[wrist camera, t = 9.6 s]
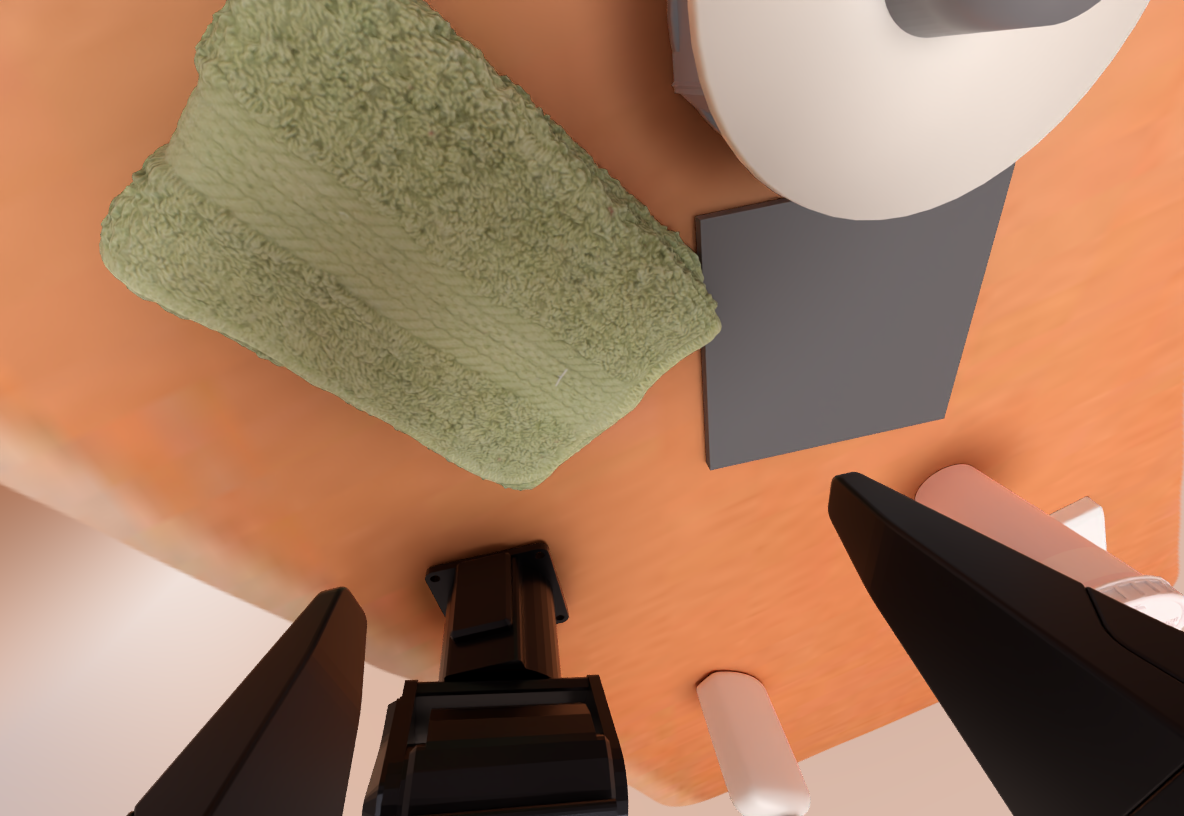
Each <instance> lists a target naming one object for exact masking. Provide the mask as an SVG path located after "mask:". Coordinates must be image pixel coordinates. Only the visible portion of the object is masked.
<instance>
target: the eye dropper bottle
mask: <svg viewBox="0 0 1184 816" xmlns="http://www.w3.org/2000/svg"><path fill="white" fill-rule="evenodd" d="M697 695H698V698H699V701H700V704H701V708H702V711H703V714H704V717H705V720H706V724H707V727H708V730H709V733H710V736H711V739H712V743H713V746H714V749H715V752H716V755H717V758H718V761H719V765H720V768H721V771H722V774H723V777H724V780H725V783H726V786H727V789H728V792H729V795H730V798H731V800H732V803H733V805H734V806H735V808H736V809H737V810H738V811H739V812H740V813H741V814H742V815H743V816H804V815H805V814H806V813H807V811H808V810H809V807H810V803H811V799H810V794H809V791H808V788H807V786H806V784H805V781H804V779H803V776H802V774H801V771H800V768H799V766H798V764H797V761H796V759H795V757H794V754H793V752H792V750H791V747H790V745H789V743H788V740H787V738H786V735H785V733H784V731H783V728H782V726H781V724H780V721H779V719H778V717H777V714H776V712H775V710H774V707H773V705H772V703H771V700H770V698H769V696H768V693H767V691H766V689H765V687H764V686H763V685H762V683H761V682H760V681H758V680H757V679H755V678H754V677H752V676H750V675H747V674H744V673H739V672H715V673H713V674H711V675H710V676H708V677H707V678H706V679H705V680H704V681H702V682H701V683H700V684H699V685H698V687H697Z"/></svg>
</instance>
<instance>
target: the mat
mask: <svg viewBox="0 0 1184 816" xmlns="http://www.w3.org/2000/svg"><path fill="white" fill-rule="evenodd" d="M1015 163H1016V162H1015ZM1015 163H1013V164H1012V165H1011V166H1009V167H1008V168H1007V169H1005V170H1004V171H1002V172H1001V173H999V174H998V175H996V176H995V177H993V178H992V179H990V180H989V181H987V182H986V183H984V184H983V185H981V186H979V187H977V188H975V189H973V190H972V191H970V192H968V193H966V194H964V195H962V196H961V197H959V198H957V199H954V200H952V201H949V202H947V203H945V204H942V205H940V206H937V207H935V208H933V209H930V210H926V211H923V212H919V213H916V214H912V215H909V216H904V217H898V218H891V219H885V220H851V219H844V218H838V217H832V216H829V215H826V214H822V213H819V212H816V211H813V210H810V209H808V208H805V207H803V206H801V205H798V204H796V203H794V202H792V201H790V200H788V199H786V198H782V199H777V200H772V201H767V202H763V203H758V204H753V205H748V206H743V207H738V208H733V209H728V210H724V211H719V212H714V213H709V214H704V215H699V216H695V222H696V245H697V256H698V257H699V261H700V263H701V269H702V274H703V276H704V281H703V283H704V284H705V285H706V290H707V292H708V294H711V295H712V298H713V299H714V300H715V301H716V302H717V303H718V304H717V307H716V309H715V312H716V314H717V316H718V317H719V319H720V321H721V325H722V327H721V331H720V333H718V334H717V335H716V336H715V338H714V339H713V340H712V341H711V342H709V343H708V344H706V345H705V346H703V347H702V348H701V356H702V378H703V401H704V423H705V445H706V463H707V465H708V467H709V469H710V470H714V469H718V468H723V467H727V466H732V465H736V464H741V463H745V462H750V461H754V460H759V459H763V458H768V457H772V456H777V455H781V454H786V453H790V452H795V451H799V450H804V449H808V448H813V447H817V446H822V445H826V444H831V443H835V442H840V441H844V440H849V439H853V438H858V437H862V436H867V435H871V434H876V433H880V432H885V431H889V430H894V429H898V428H903V427H907V426H912V425H916V424H921V423H925V422H930V421H934V420H939V419H943V418H944V417H945V413H946V410H947V406H948V402H949V399H950V395H951V392H952V388H953V385H954V381H955V377H956V374H957V370H958V367H959V363H960V360H961V356H962V352H963V349H964V345H965V342H966V338H967V334H968V331H969V327H970V324H971V320H972V317H973V313H974V309H975V306H976V302H977V299H978V295H979V291H980V288H981V284H982V281H983V277H984V274H985V270H986V266H987V263H988V259H989V256H990V252H991V248H992V245H993V241H994V238H995V234H996V231H997V227H998V223H999V220H1000V216H1001V213H1002V209H1003V206H1004V202H1005V198H1006V195H1007V191H1008V188H1009V184H1010V180H1011V177H1012V173H1013V170H1014V166H1015Z"/></svg>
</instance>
